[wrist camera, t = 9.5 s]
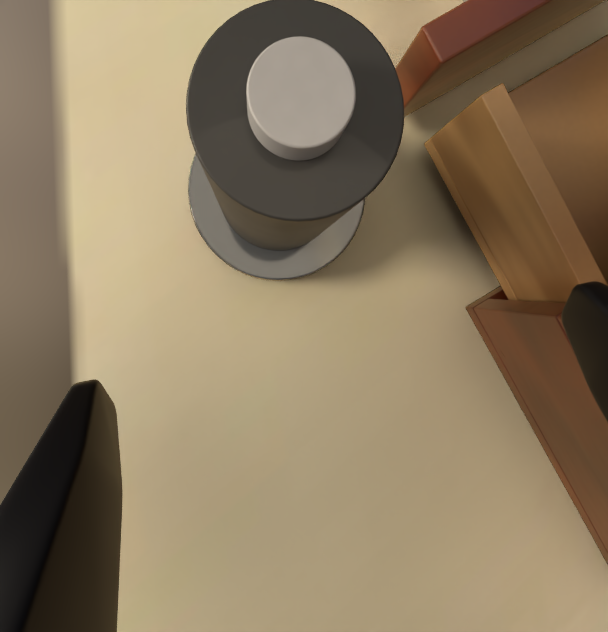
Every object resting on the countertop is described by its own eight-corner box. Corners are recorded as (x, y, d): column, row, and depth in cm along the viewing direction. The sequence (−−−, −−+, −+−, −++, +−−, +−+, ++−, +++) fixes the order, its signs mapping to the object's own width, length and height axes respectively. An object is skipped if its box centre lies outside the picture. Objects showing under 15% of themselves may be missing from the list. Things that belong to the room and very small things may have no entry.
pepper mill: (257, 272, 19) (259, 259, 10) (195, 168, 19) (129, 40, 9) (358, 213, 20) (462, 140, 10) (299, 108, 19) (345, -79, 9)
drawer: (314, -11, 20) (338, -130, 14) (561, -149, 21) (678, -317, 15) (533, 387, 22) (632, 423, 16) (754, 250, 22) (927, 237, 17)
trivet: (247, 310, 22) (247, 313, 20) (162, 168, 21) (153, 156, 19) (384, 229, 22) (397, 224, 20) (304, 88, 21) (309, 67, 19)
